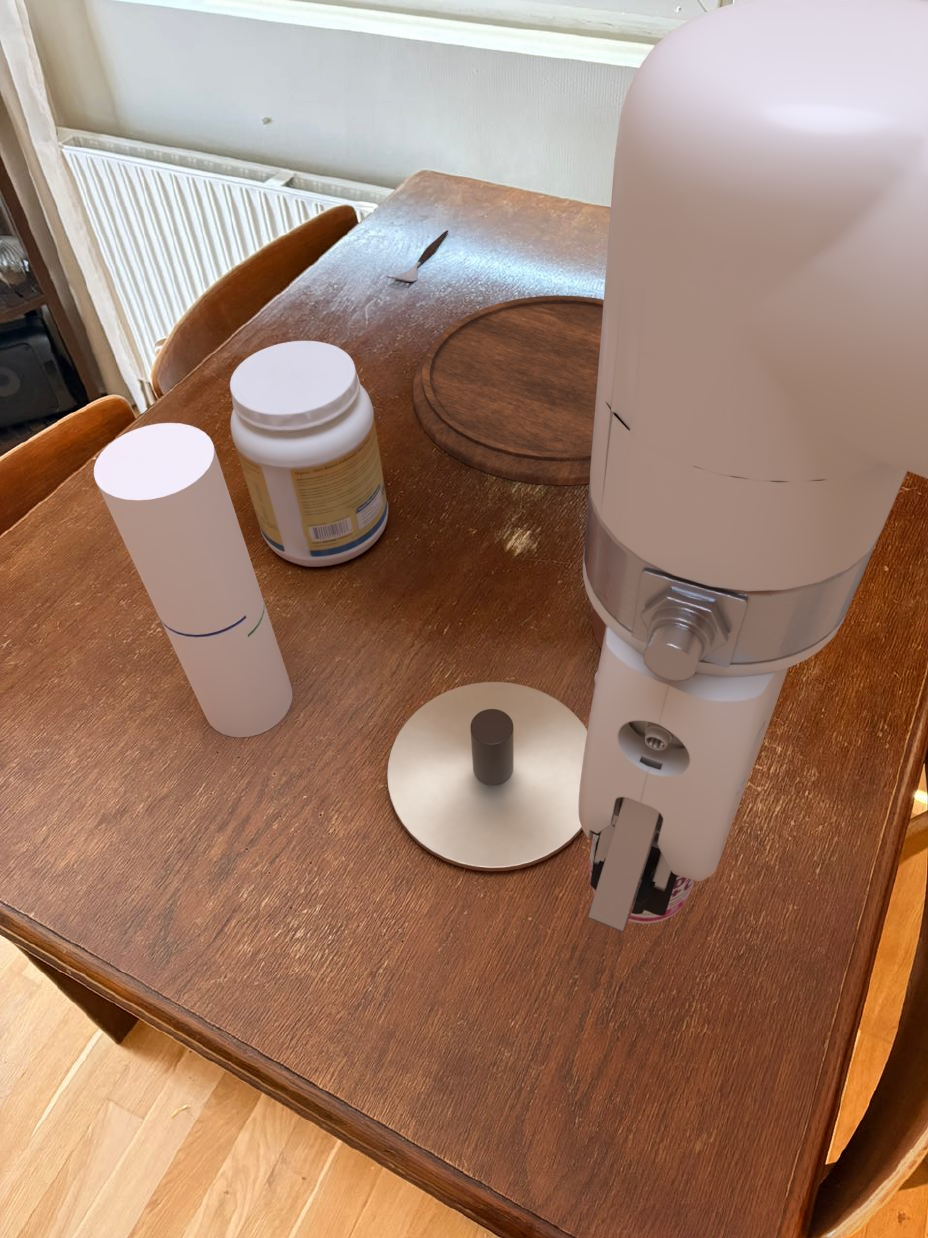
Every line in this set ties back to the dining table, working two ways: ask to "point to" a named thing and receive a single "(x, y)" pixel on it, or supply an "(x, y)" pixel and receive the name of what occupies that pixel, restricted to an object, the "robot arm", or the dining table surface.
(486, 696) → the lid
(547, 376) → the cutting board
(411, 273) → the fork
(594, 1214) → the dining table surface
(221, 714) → the cylindrical container
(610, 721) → the robot arm
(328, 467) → the supplement tub
